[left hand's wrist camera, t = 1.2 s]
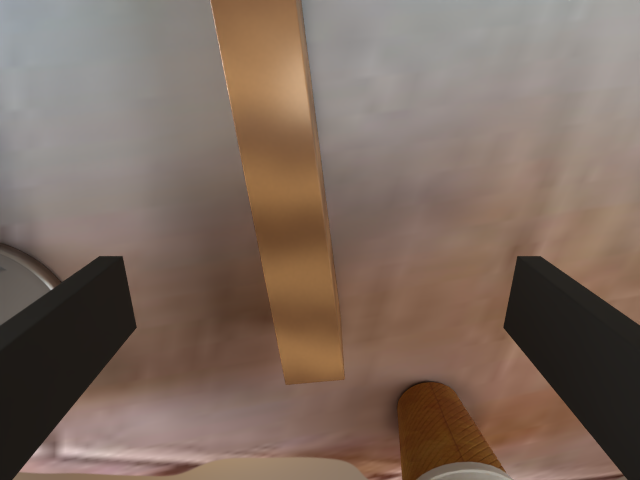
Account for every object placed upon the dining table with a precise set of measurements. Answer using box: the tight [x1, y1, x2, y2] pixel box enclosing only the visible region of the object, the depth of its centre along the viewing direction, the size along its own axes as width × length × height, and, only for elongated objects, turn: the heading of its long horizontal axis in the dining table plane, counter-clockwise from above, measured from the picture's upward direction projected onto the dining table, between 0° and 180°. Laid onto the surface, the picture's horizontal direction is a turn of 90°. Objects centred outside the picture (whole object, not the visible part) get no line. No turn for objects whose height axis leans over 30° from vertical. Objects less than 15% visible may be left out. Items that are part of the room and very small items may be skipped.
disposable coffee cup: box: [397, 382, 513, 480], centre depth 33 cm, size 10×10×12 cm
